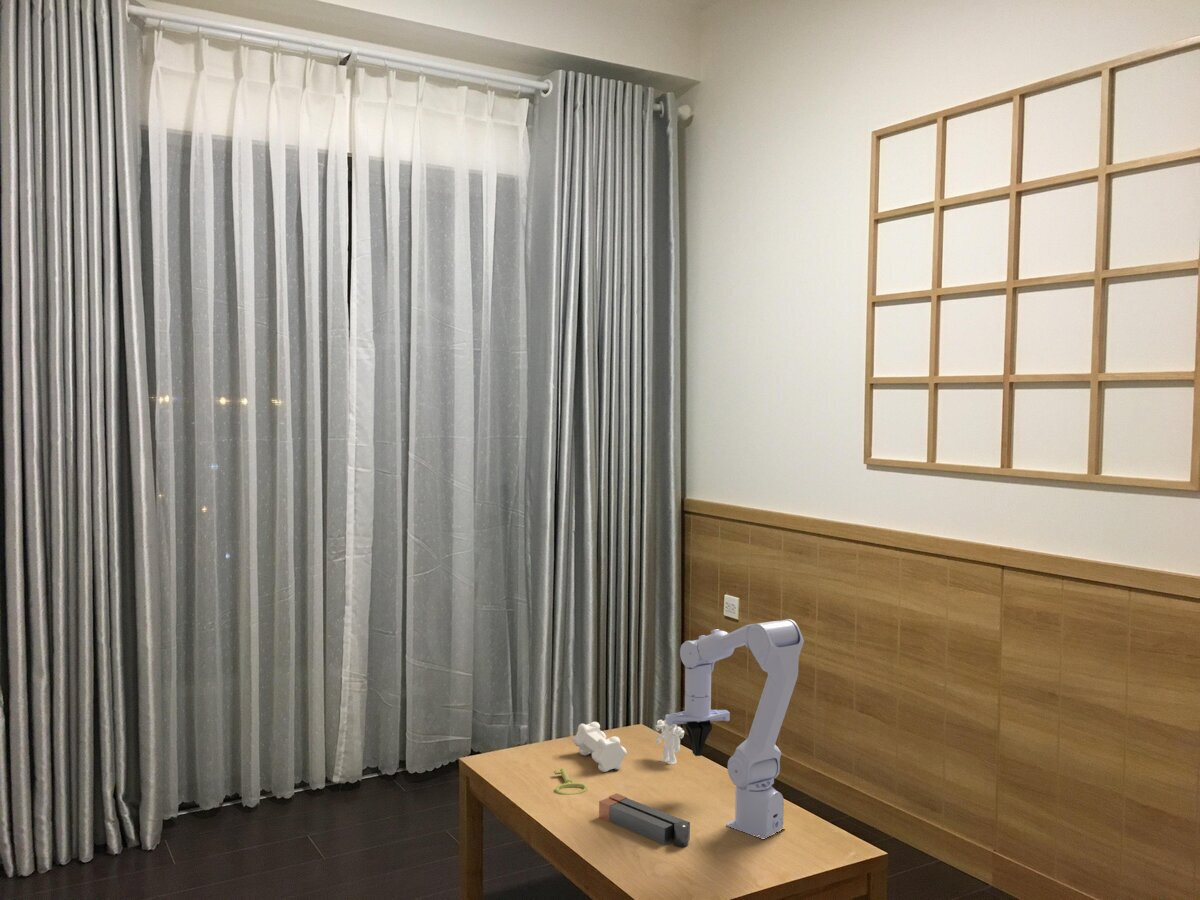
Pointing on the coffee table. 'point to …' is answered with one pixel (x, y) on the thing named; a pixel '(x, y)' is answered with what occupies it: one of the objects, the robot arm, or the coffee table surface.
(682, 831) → the bar
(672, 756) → the flower shoulder figurine
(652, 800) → the coffee table surface
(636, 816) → the tongs fixed arm
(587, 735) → the bone shaped toy
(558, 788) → the key
